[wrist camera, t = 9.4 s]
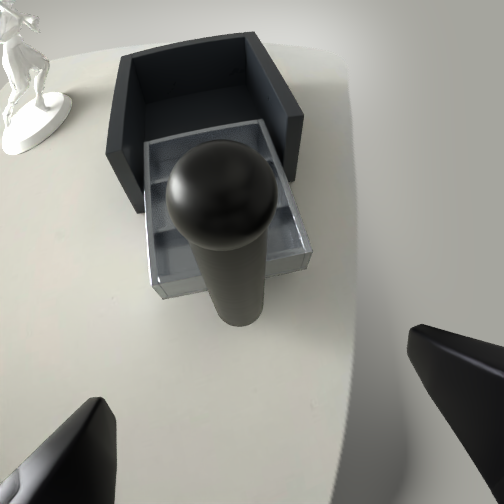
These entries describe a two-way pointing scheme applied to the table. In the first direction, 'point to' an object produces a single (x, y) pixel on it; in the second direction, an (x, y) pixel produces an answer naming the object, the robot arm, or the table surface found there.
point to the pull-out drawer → (221, 217)
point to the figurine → (27, 86)
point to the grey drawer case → (197, 100)
